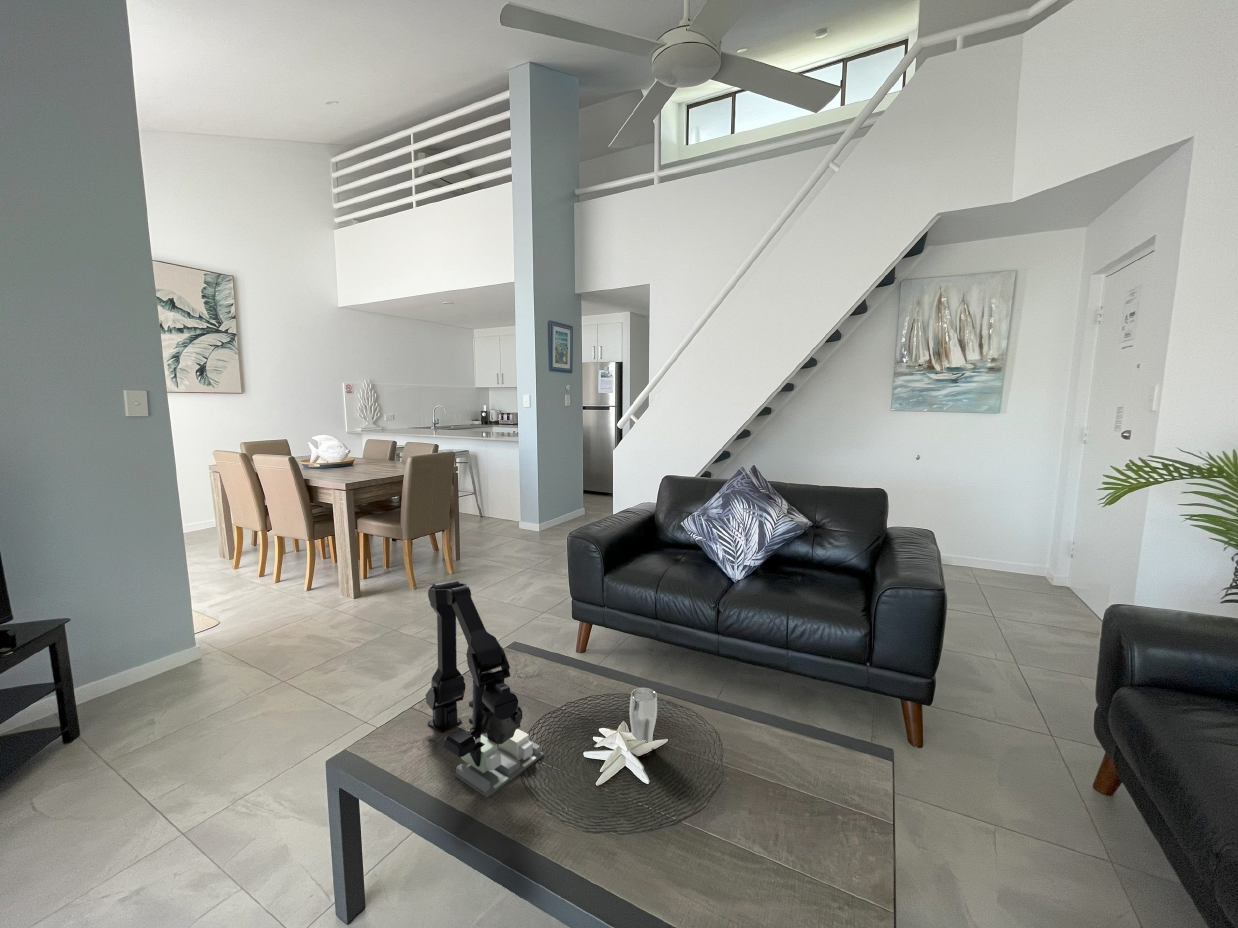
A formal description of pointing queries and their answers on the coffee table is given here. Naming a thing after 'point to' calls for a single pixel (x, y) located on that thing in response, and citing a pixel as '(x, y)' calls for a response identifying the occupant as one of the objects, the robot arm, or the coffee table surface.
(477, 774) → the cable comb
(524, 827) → the coffee table surface
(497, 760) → the sage plug
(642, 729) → the beer glass
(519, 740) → the cream plug
